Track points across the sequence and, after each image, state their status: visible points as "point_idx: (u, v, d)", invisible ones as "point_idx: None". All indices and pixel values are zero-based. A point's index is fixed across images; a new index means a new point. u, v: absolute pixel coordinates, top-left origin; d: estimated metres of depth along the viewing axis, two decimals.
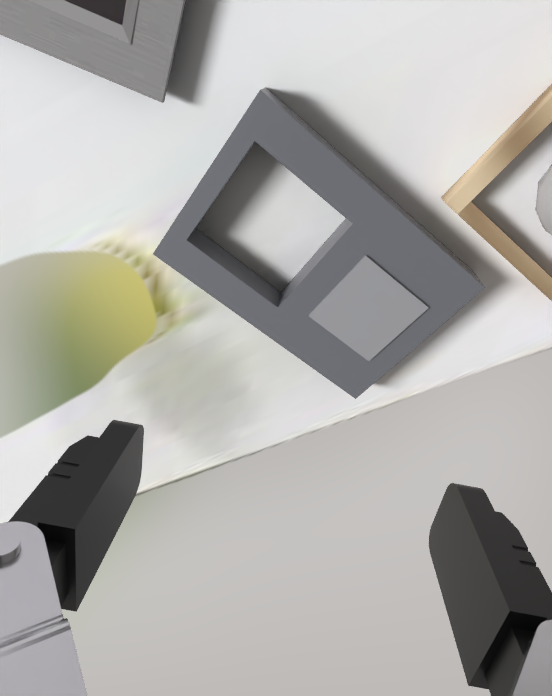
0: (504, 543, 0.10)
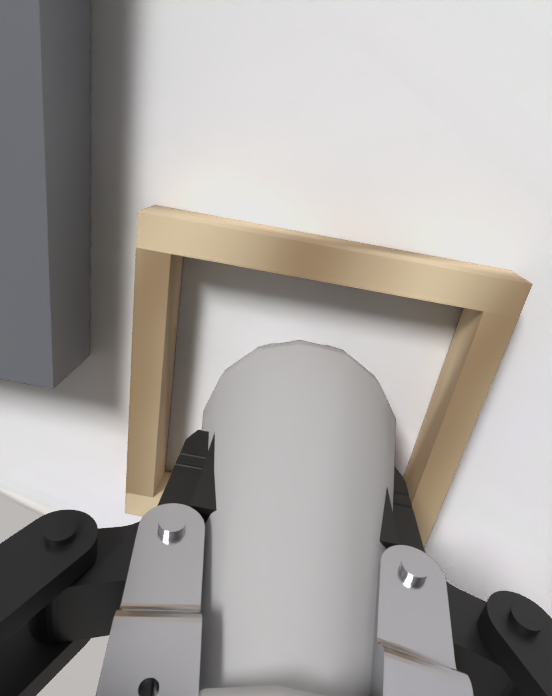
0: None
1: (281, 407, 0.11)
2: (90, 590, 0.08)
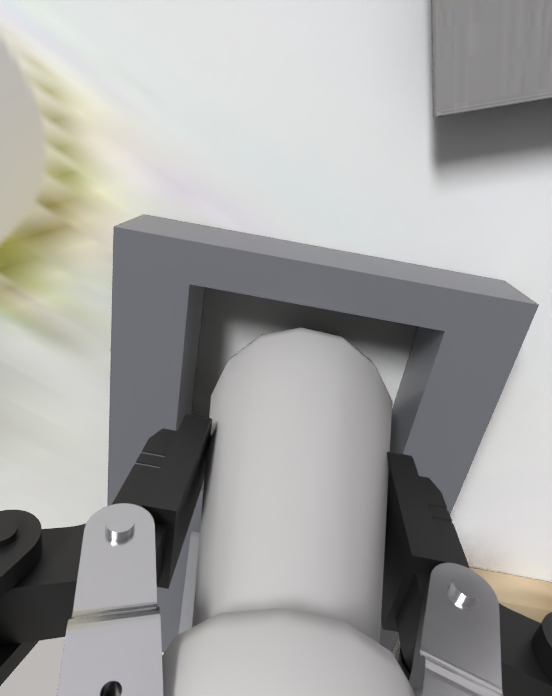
0: (420, 501, 0.10)
1: (283, 387, 0.12)
2: (38, 587, 0.08)
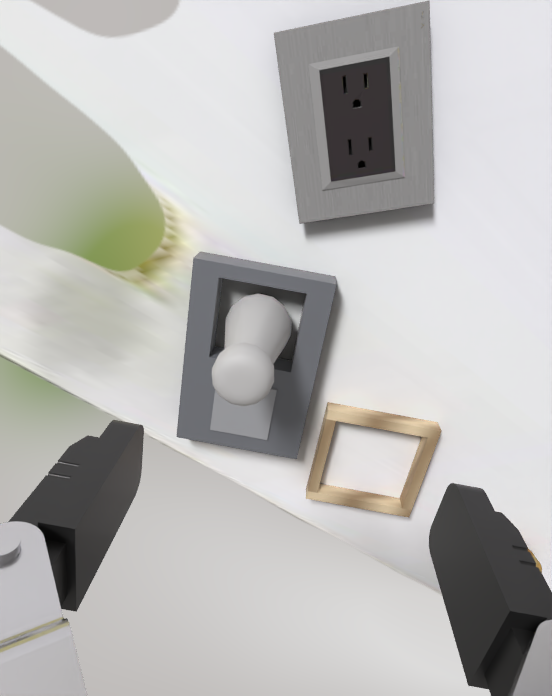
0: (504, 543, 0.10)
1: (249, 310, 0.37)
2: None
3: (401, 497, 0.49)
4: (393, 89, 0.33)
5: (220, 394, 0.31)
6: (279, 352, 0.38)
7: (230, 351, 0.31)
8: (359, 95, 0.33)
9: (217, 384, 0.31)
